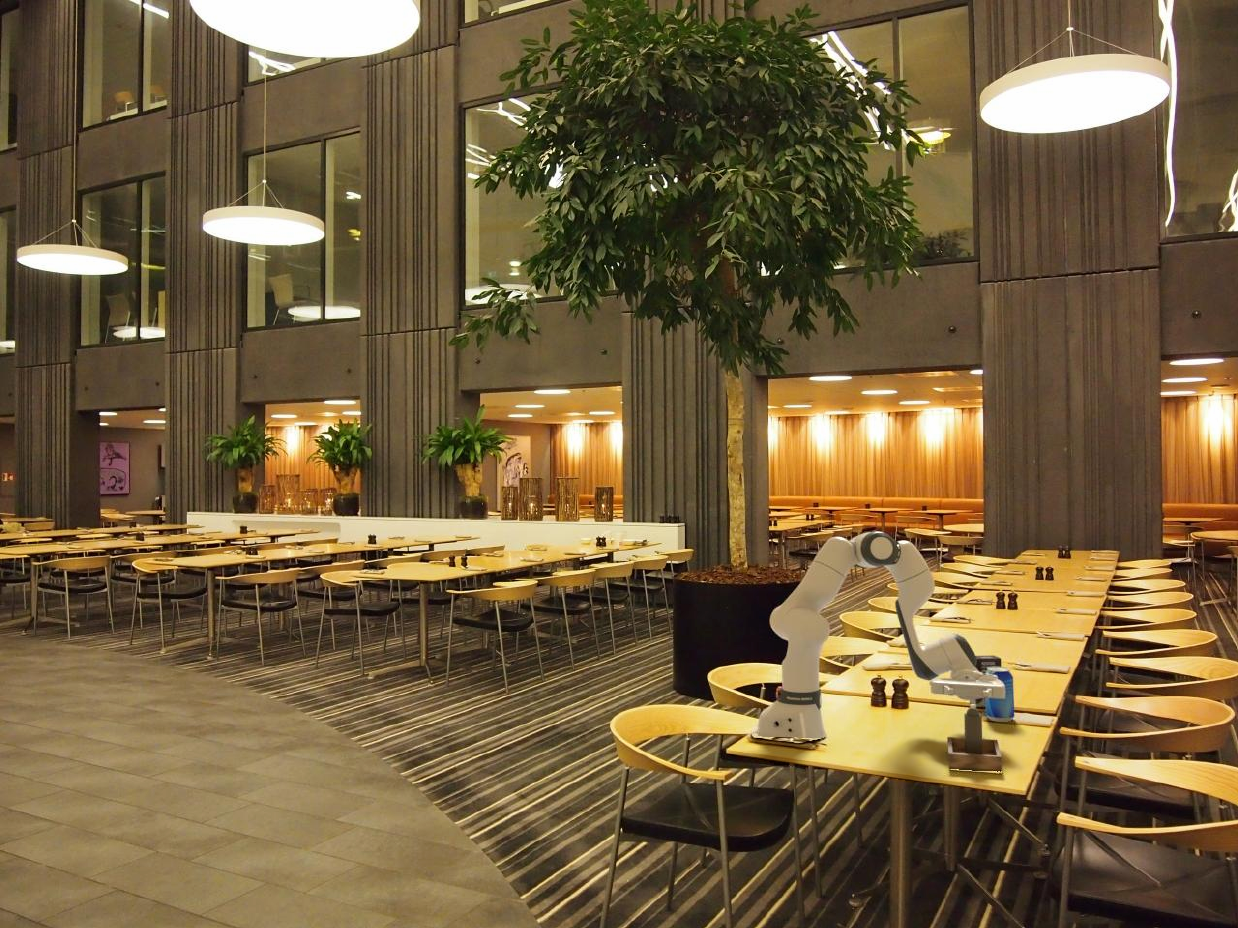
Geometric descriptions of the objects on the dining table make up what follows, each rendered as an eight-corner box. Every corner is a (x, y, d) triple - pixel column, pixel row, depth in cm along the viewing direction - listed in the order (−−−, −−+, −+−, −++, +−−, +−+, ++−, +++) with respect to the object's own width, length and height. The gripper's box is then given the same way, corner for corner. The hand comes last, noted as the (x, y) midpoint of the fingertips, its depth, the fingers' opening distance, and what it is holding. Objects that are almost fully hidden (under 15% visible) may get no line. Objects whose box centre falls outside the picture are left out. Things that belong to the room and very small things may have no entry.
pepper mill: (965, 760, 248) (964, 706, 248) (964, 756, 252) (963, 702, 252) (983, 762, 246) (982, 707, 246) (982, 757, 250) (981, 703, 251)
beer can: (1007, 715, 297) (1005, 665, 297) (1019, 722, 288) (1017, 670, 289) (981, 716, 296) (979, 666, 297) (992, 723, 288) (991, 671, 288)
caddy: (949, 770, 244) (948, 753, 244) (947, 753, 259) (947, 736, 259) (1002, 773, 239) (1001, 756, 239) (997, 756, 255) (997, 739, 255)
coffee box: (976, 707, 308) (974, 658, 309) (969, 702, 315) (967, 655, 315) (1003, 706, 308) (1001, 658, 308) (996, 701, 314) (994, 654, 315)
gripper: (929, 670, 277) (929, 680, 264) (1002, 675, 271) (1006, 685, 257) (929, 692, 277) (929, 702, 264) (1003, 697, 270) (1006, 707, 257)
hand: (968, 693), depth 261 cm, fingers open, 8 cm apart
